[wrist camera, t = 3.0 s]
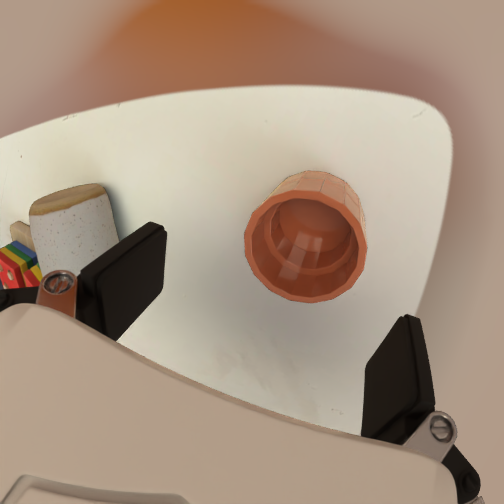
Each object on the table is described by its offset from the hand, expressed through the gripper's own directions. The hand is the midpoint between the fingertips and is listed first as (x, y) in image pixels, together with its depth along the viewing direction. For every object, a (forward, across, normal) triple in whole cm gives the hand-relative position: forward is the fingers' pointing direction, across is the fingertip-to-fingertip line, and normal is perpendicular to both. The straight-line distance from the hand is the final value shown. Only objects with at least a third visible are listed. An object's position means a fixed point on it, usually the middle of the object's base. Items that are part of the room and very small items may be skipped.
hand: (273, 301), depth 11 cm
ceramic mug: (+10, +18, +7) cm, 21 cm away
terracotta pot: (+9, -1, 0) cm, 9 cm away
